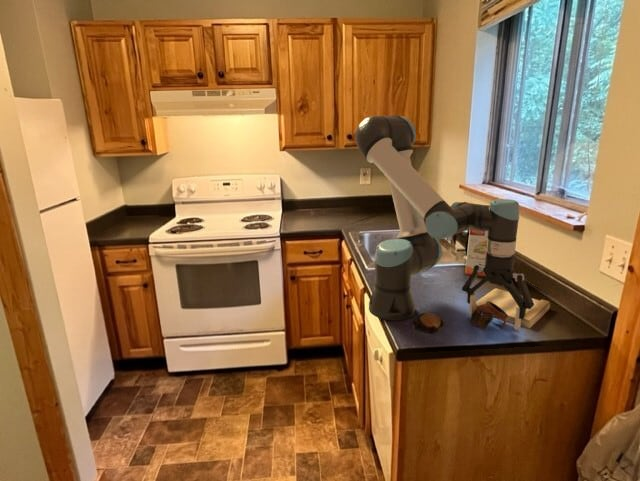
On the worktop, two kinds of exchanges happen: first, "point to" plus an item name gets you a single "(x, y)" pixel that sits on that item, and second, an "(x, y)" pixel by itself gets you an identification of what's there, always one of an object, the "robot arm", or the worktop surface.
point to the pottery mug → (487, 315)
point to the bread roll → (428, 323)
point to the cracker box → (476, 250)
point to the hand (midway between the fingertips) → (493, 320)
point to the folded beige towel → (509, 307)
